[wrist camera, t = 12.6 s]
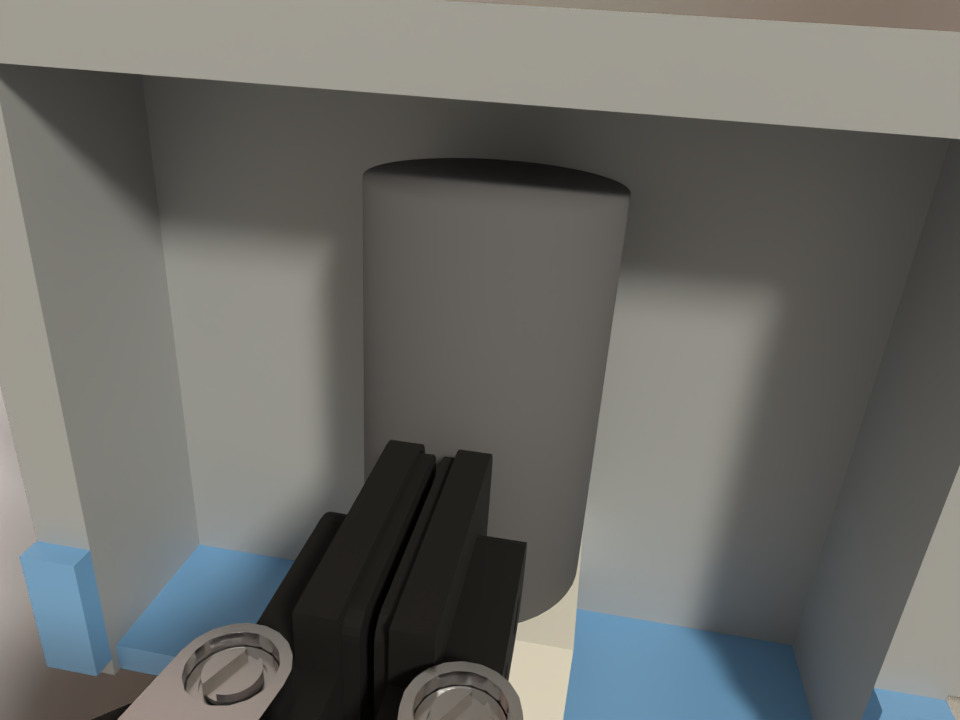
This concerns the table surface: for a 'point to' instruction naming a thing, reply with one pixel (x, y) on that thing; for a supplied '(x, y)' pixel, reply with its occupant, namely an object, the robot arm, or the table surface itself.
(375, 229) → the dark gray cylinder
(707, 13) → the table surface
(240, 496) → the divided grey tray
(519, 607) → the robot arm
